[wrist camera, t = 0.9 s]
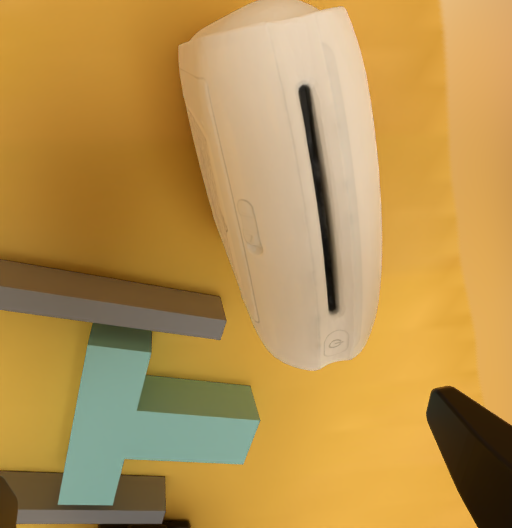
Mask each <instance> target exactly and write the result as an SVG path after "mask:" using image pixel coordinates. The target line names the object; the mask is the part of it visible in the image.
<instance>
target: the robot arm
mask: <svg viewBox="0 0 512 528" xmlns="http://www.w3.org/2000/svg"><path fill="white" fill-rule="evenodd" d="M426 416H427V421H428V424H429V426H430V429H431V431H432V433H433V436H434V438H435V440H436V442H437V445H438V447H439V449H440V452H441V454H442V456H443V459H444V461H445V463H446V465H447V468H448V470H449V472H450V475H451V477H452V479H453V481H454V484H455V486H456V488H457V490H458V492H459V494H460V496H461V498H462V500H463V502H464V503H465V505H466V507H467V509H468V511H469V512H470V514H471V516H472V518H473V520H474V521H475V523H476V525H477V527H478V528H512V425H510V424H508V423H507V422H505V421H504V420H502V419H501V418H499V417H498V416H496V415H495V414H493V413H491V412H490V411H489V410H487V409H486V408H484V407H483V406H481V405H480V404H478V403H477V402H475V401H474V400H472V399H471V398H469V397H468V396H466V395H465V394H463V393H462V392H460V391H459V390H457V389H456V388H454V387H452V386H444V387H439V388H435V389H433V390H432V391H431V394H430V399H429V403H428V407H427V412H426ZM17 515H18V499H17V497H16V495H15V493H14V492H13V490H12V489H11V487H10V486H9V484H8V483H7V481H6V480H5V478H4V477H3V476H1V475H0V528H16V523H17ZM98 528H191V525H190V523H189V522H162V524H99V525H98Z"/></svg>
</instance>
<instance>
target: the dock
mask: <svg viewBox="0 0 512 528" xmlns="http://www.w3.org/2000/svg"><path fill="white" fill-rule="evenodd" d="M0 310H5V311H13V312H20V313H27V314H34V315H42V316H49V317H56V318H63V319H71V320H78V321H85V322H92V323H100V324H107V325H114V326H122V327H129V328H136V329H143V330H151V331H158V332H165V333H172V334H180V335H187V336H194V337H201V338H209V339H216V340H221V337H222V334H223V330H224V327H225V324H226V321H227V320H226V317H225V313H224V309H223V306H222V302H221V298H220V297H218V296H212V295H207V294H201V293H195V292H189V291H183V290H177V289H171V288H165V287H159V286H154V285H148V284H142V283H136V282H130V281H124V280H118V279H112V278H107V277H101V276H95V275H89V274H83V273H77V272H71V271H65V270H59V269H54V268H48V267H42V266H36V265H30V264H24V263H18V262H12V261H7V260H1V259H0ZM0 475H1V476H3V477H4V478H5V480H6V481H7V483H8V484H9V486H10V487H11V489H12V490H13V492H14V493H15V495H16V497H17V499H18V515H17V523H16V524H162V521H163V518H164V515H165V512H166V499H165V477H160V476H131V475H120V478H119V482H118V486H117V490H116V494H115V498H114V502H113V505H58V500H59V495H60V489H61V484H62V479H63V473H42V472H13V471H0Z"/></svg>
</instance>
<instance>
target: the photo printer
mask: <svg viewBox="0 0 512 528" xmlns="http://www.w3.org/2000/svg"><path fill="white" fill-rule="evenodd" d="M178 59H179V73H180V79H181V85H182V90H183V97H184V99H185V104H186V109H187V114H188V118H189V123H190V127H191V132H192V136H193V140H194V144H195V148H196V153H197V157H198V161H199V165H200V169H201V173H202V177H203V181H204V184H205V188H206V192H207V196H208V199H209V203H210V206H211V210H212V213H213V218H214V220H215V223H216V226H217V229H218V232H219V234H220V237H221V240H222V242H223V245H224V248H225V250H226V253H227V256H228V258H229V261H230V264H231V267H232V269H233V272H234V275H235V277H236V280H237V283H238V285H239V288H240V291H241V297H242V299H243V301H244V303H245V305H246V307H247V310H248V313H249V315H250V318H251V321H252V323H253V325H254V328H255V330H256V332H257V334H258V336H259V337H260V339H261V341H262V342H263V344H264V345H265V347H266V348H267V350H268V351H269V352H270V353H271V354H272V355H273V356H274V357H276V358H277V359H279V360H280V361H282V362H284V363H285V364H288V365H291V366H293V367H296V368H300V369H305V370H314V371H315V370H319V369H321V368H323V367H324V366H326V365H328V364H330V363H333V362H336V361H341V360H351V359H352V358H354V357H356V356H357V355H358V354H359V353H360V352H361V351H362V349H363V348H364V346H365V345H366V343H367V340H368V338H369V335H370V333H371V330H372V327H373V324H374V321H375V317H376V313H377V308H378V301H379V292H380V282H381V269H382V213H381V193H380V179H379V165H378V155H377V146H376V137H375V128H374V119H373V113H372V106H371V99H370V93H369V88H368V82H367V76H366V71H365V67H364V63H363V59H362V55H361V51H360V48H359V44H358V41H357V38H356V35H355V32H354V29H353V26H352V23H351V20H350V18H349V15H348V13H347V10H346V9H345V8H344V7H341V6H340V7H334V8H329V9H324V10H318V9H317V8H315V7H313V6H312V5H310V4H307V3H304V2H302V1H299V0H258V1H255V2H252V3H250V4H248V5H246V6H244V7H242V8H240V9H238V10H236V11H234V12H232V13H230V14H229V15H227V16H225V17H223V18H221V19H219V20H217V21H215V22H213V23H212V24H210V25H208V26H206V27H204V28H203V29H201V30H200V31H198V32H197V33H196V34H195V35H194V36H193V37H192V38H191V39H190V41H188V42H186V43H183V44H180V45H179V47H178Z"/></svg>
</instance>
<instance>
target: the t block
mask: <svg viewBox="0 0 512 528" xmlns="http://www.w3.org/2000/svg"><path fill="white" fill-rule="evenodd" d="M151 346H152V331H151V330H143V329H136V328H129V327H122V326H114V325H107V324H100V323H93V325H92V329H91V333H90V337H89V341H88V345H87V351H86V356H85V361H84V367H83V372H82V377H81V383H80V388H79V393H78V399H77V404H76V409H75V415H74V420H73V425H72V431H71V436H70V441H69V447H68V452H67V457H66V463H65V468H64V473H63V479H62V484H61V489H60V495H59V500H58V505H113V502H114V498H115V494H116V490H117V486H118V482H119V478H120V474H121V470H122V466H123V463H124V459H136V460H158V461H180V462H202V463H224V464H243V463H244V461H245V458H246V456H247V453H248V451H249V448H250V446H251V443H252V440H253V438H254V435H255V433H256V430H257V428H258V425H259V423H260V418H259V414H258V411H257V408H256V404H255V401H254V397H253V394H252V390H251V387H250V386H246V385H236V384H227V383H218V382H208V381H199V380H189V379H180V378H170V377H161V376H151V375H146V372H147V368H148V364H149V360H150V356H151Z"/></svg>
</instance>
